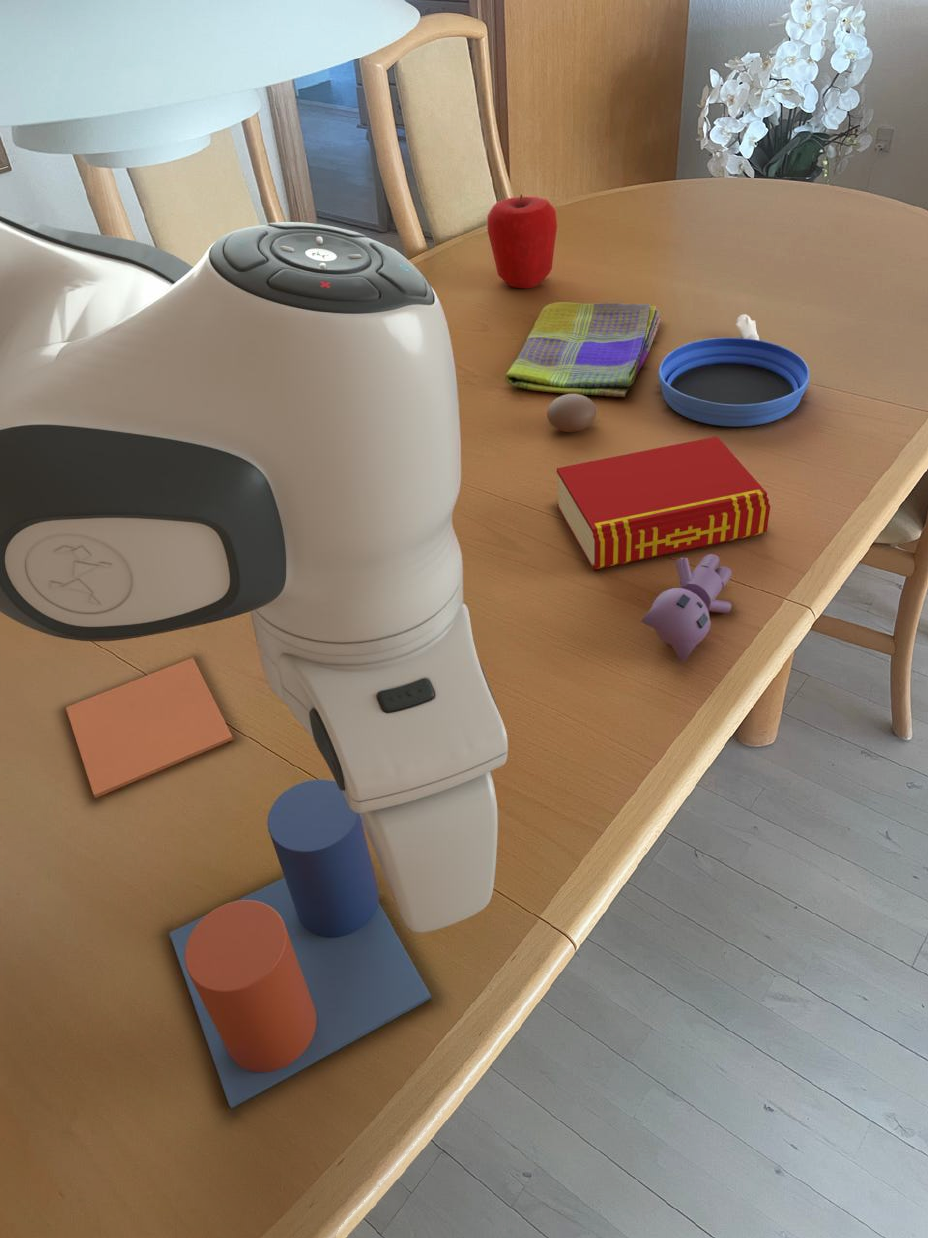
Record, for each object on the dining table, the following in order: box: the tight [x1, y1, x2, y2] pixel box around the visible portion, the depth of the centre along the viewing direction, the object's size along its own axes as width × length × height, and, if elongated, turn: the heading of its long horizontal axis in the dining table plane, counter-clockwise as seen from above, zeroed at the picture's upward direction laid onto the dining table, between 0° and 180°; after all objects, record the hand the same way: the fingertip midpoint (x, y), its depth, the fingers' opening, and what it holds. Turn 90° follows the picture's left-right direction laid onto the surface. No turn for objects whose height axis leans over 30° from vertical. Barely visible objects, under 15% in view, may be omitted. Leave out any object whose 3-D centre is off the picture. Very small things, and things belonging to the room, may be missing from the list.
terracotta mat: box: [65, 657, 234, 799], centre depth 86 cm, size 12×12×1 cm
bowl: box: [658, 337, 810, 428], centre depth 122 cm, size 18×18×4 cm
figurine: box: [640, 553, 733, 665], centre depth 90 cm, size 5×7×12 cm
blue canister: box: [267, 778, 380, 938], centre depth 67 cm, size 6×6×10 cm
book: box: [556, 436, 771, 571], centre depth 102 cm, size 18×13×5 cm
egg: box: [546, 393, 597, 433], centre depth 119 cm, size 6×6×4 cm
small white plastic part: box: [735, 313, 760, 340], centre depth 133 cm, size 4×6×3 cm, turn 159°
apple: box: [486, 193, 558, 289], centre depth 151 cm, size 10×10×14 cm
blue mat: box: [168, 877, 432, 1109], centre depth 67 cm, size 14×14×1 cm
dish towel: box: [504, 301, 662, 398], centre depth 134 cm, size 18×24×3 cm
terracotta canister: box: [184, 900, 317, 1072], centre depth 61 cm, size 6×6×10 cm
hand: (381, 820), depth 51 cm, fingers open, 8 cm apart
